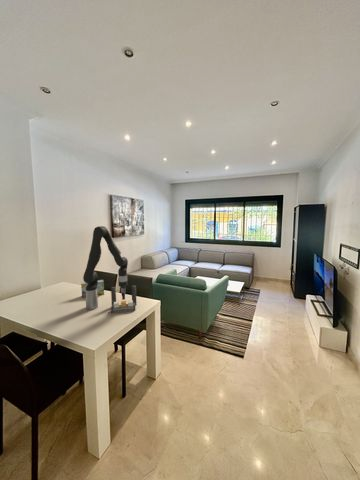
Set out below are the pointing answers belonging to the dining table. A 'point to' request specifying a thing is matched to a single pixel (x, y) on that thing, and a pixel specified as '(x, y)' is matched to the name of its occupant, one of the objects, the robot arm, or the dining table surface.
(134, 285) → the post
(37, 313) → the dining table surface
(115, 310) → the breaker strip
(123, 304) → the paddle
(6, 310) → the dining table surface
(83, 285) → the snack box
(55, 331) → the dining table surface
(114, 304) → the paddle
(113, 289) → the post
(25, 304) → the dining table surface
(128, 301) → the paddle
